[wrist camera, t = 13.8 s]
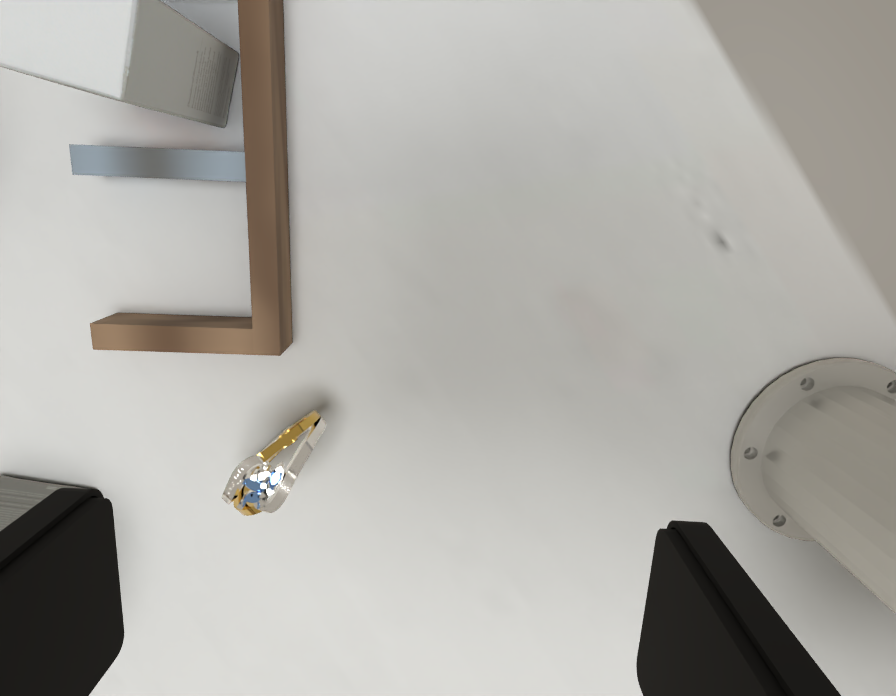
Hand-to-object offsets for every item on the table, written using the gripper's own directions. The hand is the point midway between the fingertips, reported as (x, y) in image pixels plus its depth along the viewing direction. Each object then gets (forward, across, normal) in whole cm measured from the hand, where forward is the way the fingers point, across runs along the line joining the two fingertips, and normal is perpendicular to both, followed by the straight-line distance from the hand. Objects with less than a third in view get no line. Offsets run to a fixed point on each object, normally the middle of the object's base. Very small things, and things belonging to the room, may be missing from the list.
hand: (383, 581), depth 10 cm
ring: (+27, +9, +9) cm, 30 cm away
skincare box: (+27, +15, -12) cm, 33 cm away
